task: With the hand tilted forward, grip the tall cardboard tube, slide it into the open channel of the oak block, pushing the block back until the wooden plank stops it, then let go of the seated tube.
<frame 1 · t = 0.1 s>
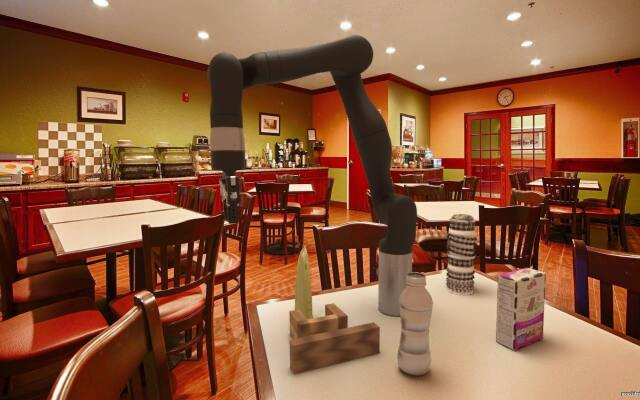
hand: (231, 220, 79), 29 cm above the table, tool pointing down, fingers open, 8 cm apart
candy bar box: (518, 341, 81), on the table
decorative candle: (459, 290, 113), on the table
plastic bottle: (413, 371, 70), on the table
wooden plank: (336, 359, 74), on the table
block: (318, 325, 83), point 3 cm above the table, slide at 0.0 cm
tube: (303, 319, 94), on the table
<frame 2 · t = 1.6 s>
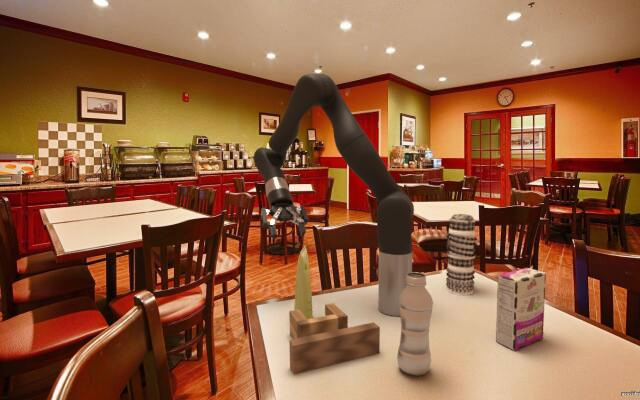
hand: (289, 236, 102), 21 cm above the table, tool tilted 45°, fingers open, 8 cm apart
nothing on the table moved.
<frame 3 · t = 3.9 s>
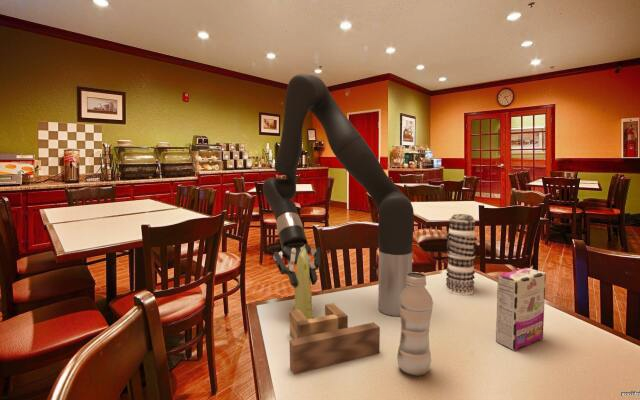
hand: (305, 284, 91), 10 cm above the table, tool tilted 45°, fingers closed on tube, 4 cm apart
tube: (303, 318, 94), on the table, touching gripper
everything else where it was.
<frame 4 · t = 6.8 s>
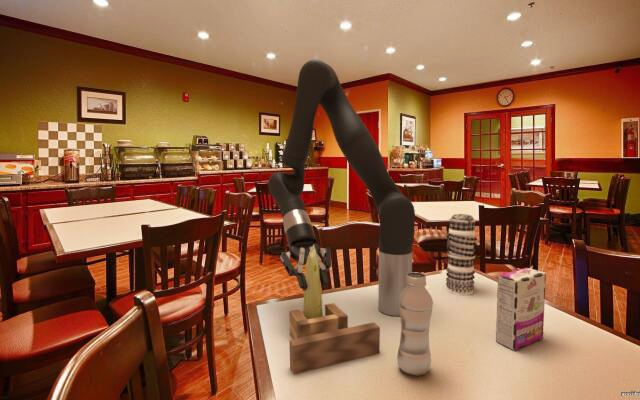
hand: (315, 287, 84), 12 cm above the table, tool tilted 45°, fingers closed on tube, 4 cm apart
tube: (312, 324, 87), point 2 cm above the table, touching gripper
everything else where it was.
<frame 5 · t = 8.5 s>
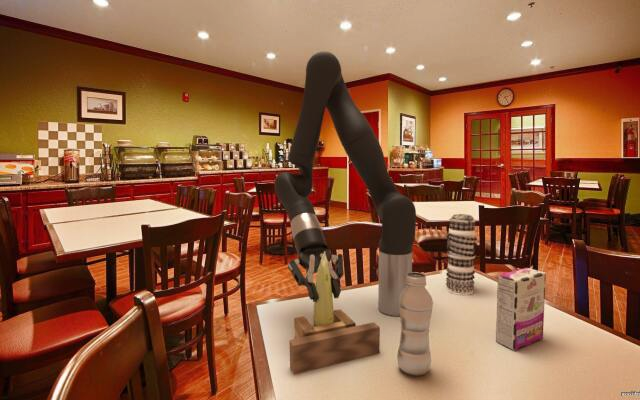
hand: (326, 298, 77), 12 cm above the table, tool tilted 45°, fingers closed on tube, 4 cm apart
block: (324, 332, 79), point 3 cm above the table, slide at 4.0 cm, touching tube
tube: (323, 337, 80), point 2 cm above the table, touching block, gripper
everything else where it was.
when the fingers open (10 cm above the table, at t = 9.7 s): tube stays where it is, resting on block.
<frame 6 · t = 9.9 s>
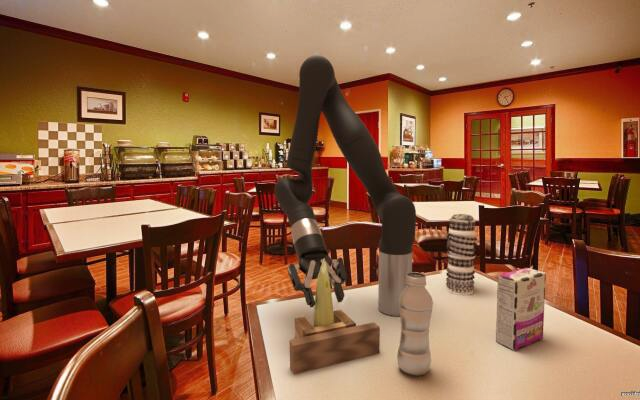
hand: (327, 303, 77), 11 cm above the table, tool tilted 45°, fingers open, 6 cm apart
tube: (324, 345, 80), resting on block
everything else where it was.
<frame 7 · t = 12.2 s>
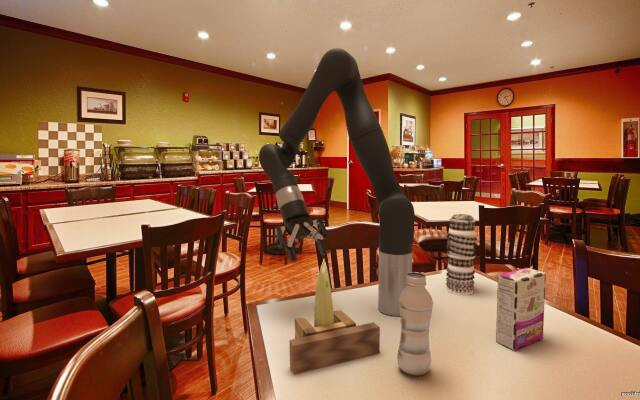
hand: (309, 257, 92), 17 cm above the table, tool tilted 35°, fingers open, 8 cm apart
nothing on the table moved.
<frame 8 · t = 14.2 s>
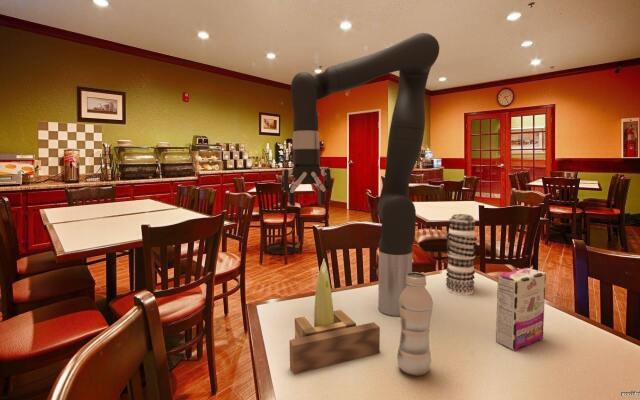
hand: (306, 205, 98), 30 cm above the table, tool pointing down, fingers open, 8 cm apart
nothing on the table moved.
at the end: tube 0.7 cm from the target spot on the block, point 0.0 cm above the block's base; block slide at 4.2 cm; tube tilted 2° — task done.
